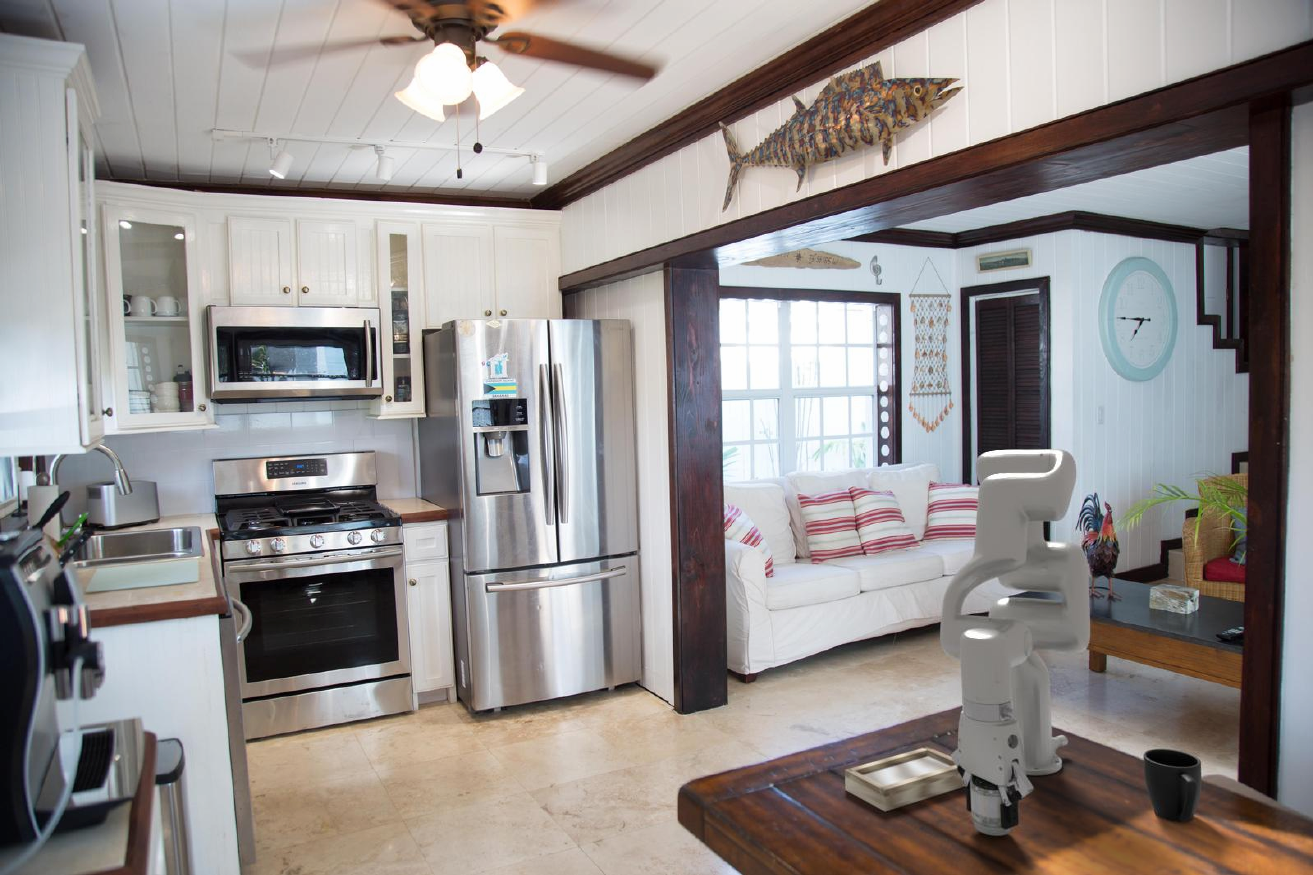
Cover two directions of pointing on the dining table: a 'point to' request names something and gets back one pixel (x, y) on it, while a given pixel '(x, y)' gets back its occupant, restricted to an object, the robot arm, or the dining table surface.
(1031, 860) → the dining table surface
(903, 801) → the beige rimmed shallow tray
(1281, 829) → the dining table surface
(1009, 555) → the robot arm
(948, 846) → the dining table surface
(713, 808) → the dining table surface
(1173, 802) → the mug
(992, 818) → the camera lens
